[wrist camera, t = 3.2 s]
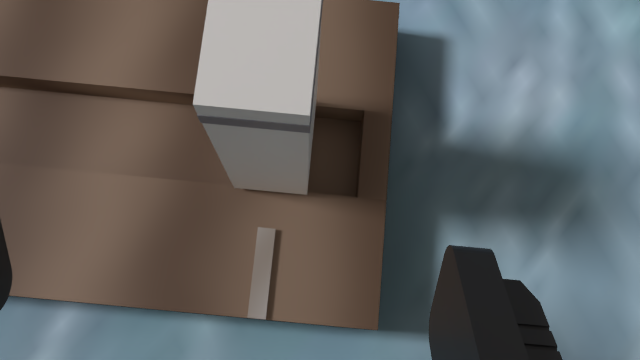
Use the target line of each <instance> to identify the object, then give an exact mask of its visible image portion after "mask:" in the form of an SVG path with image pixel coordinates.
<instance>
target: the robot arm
mask: <svg viewBox="0 0 640 360" xmlns="http://www.w3.org/2000/svg"><path fill="white" fill-rule="evenodd" d="M11 286H12V267H11V262H10V258H9V254H8V249H7V245H6V241H5V236H4V232H3V228H2V224H1V219H0V310H1V309H2V307H3V306H4V304H5V303H6V301H7V299H8V296H9V294H10V290H11ZM429 343H430V350H431V357H432V360H562V357H561V355H560V352H559V351H557V345H556V342H555V339H554V337H553V334H552V332H551V331H549V324H548V322H547V319H546V317H545V314H544V311H543V309H542V306H541V304H540V302H539V301H538V300H537V299H536V297H535V296H534V295H533V294H532V293H531V292H530V291H529V290H528V289H527V288H526V287H525V286H524V284H523V283H522V282H521V281H520V280H509V279H502V276H501V273H500V270H499V267H498V264H497V261H496V258H495V255H494V253H493V251H492V250H491V249H485V248H474V247H463V246H452V245H449V246H448V247H447V249H446V251H445V254H444V258H443V262H442V266H441V270H440V274H439V278H438V282H437V286H436V291H435V295H434V299H433V303H432V307H431V312H430V320H429Z"/></svg>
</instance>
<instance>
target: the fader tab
mask: <svg viewBox="0 0 640 360" xmlns="http://www.w3.org/2000/svg"><path fill="white" fill-rule="evenodd" d="M322 8H323V0H208V5H207V12H206V19H205V25H204V32H203V39H202V45H201V52H200V59H199V65H198V72H197V79H196V85H195V92H194V99H193V106H194V108H195V110H196V112H197V117H198V119H199V121H200V123H202V124H203V126H204V128H205V130H206V132H207V134H208V136H209V138H210V140H211V142H212V144H213V146H214V148H215V150H216V152H217V154H218V156H219V158H220V160H221V162H222V164H223V166H224V168H225V170H226V172H227V174H228V177H229V179H230V181H231V183H232V185H233V187H234V188H240V189H251V190H262V191H272V192H283V193H293V194H304V195H307V191H308V181H309V171H310V161H311V151H312V141H313V130H314V120H315V110H316V100H317V84H318V68H319V51H320V34H321V18H322Z"/></svg>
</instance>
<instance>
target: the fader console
mask: <svg viewBox="0 0 640 360" xmlns="http://www.w3.org/2000/svg"><path fill="white" fill-rule="evenodd" d="M399 4H400V3H393V2H383V1H372V0H323V8H322V18H321V34H320V51H319V68H318V84H317V100H316V110H315V120H314V130H313V141H312V151H311V161H310V171H309V181H308V191H307V195H304V194H293V193H283V192H272V191H262V190H251V189H240V188H234V187H233V185H232V183H231V181H230V179H229V177H228V174H227V172H226V170H225V168H224V166H223V164H222V162H221V160H220V158H219V156H218V154H217V152H216V150H215V148H214V146H213V144H212V142H211V140H210V138H209V136H208V134H207V132H206V130H205V128H204V126H203V124H202V123H200V121H199V119H198V117H197V112H196V110H195V108H194V106H193V99H194V92H195V85H196V79H197V72H198V65H199V59H200V52H201V45H202V39H203V32H204V25H205V19H206V12H207V5H208V0H0V219H1V224H2V228H3V232H4V236H5V241H6V245H7V249H8V254H9V258H10V262H11V267H12V286H11V290H10V294H9V296H17V297H28V298H38V299H49V300H60V301H70V302H81V303H92V304H102V305H113V306H124V307H134V308H145V309H155V310H166V311H177V312H187V313H198V314H209V315H219V316H230V317H241V318H251V319H262V320H272V321H283V322H294V323H304V324H315V325H326V326H336V327H347V328H358V329H368V330H378V319H379V304H380V289H381V274H382V259H383V244H384V229H385V214H386V199H387V184H388V169H389V154H390V139H391V124H392V109H393V94H394V79H395V64H396V49H397V34H398V19H399Z"/></svg>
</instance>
